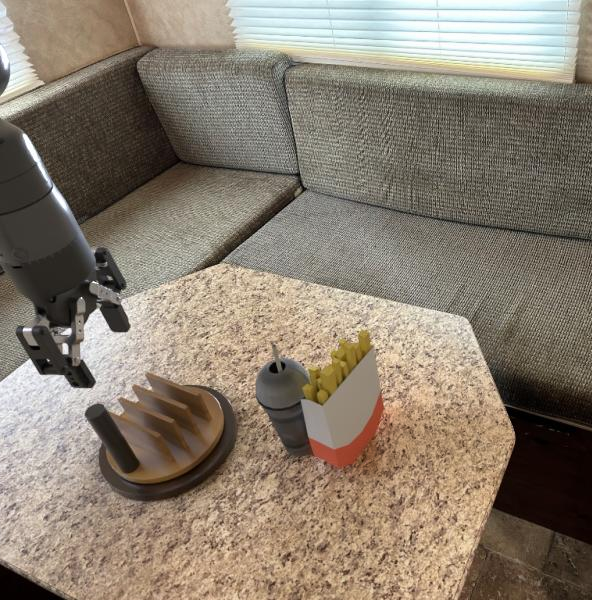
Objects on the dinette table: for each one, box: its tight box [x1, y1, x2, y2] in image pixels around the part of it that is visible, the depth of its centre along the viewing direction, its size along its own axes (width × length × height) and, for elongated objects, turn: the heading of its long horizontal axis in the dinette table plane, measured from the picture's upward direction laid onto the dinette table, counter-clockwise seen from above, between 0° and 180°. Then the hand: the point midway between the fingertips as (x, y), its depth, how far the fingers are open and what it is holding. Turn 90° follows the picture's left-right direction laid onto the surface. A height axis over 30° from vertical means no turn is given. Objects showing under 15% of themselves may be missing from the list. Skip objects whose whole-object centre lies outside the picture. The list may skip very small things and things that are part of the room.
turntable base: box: [98, 384, 239, 502], centre depth 86 cm, size 19×19×2 cm
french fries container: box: [301, 329, 385, 468], centre depth 78 cm, size 5×11×18 cm, turn 148°
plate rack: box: [84, 371, 224, 484], centre depth 82 cm, size 16×16×12 cm
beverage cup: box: [254, 344, 313, 457], centre depth 78 cm, size 7×7×20 cm
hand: (105, 357), depth 68 cm, fingers open, 8 cm apart
